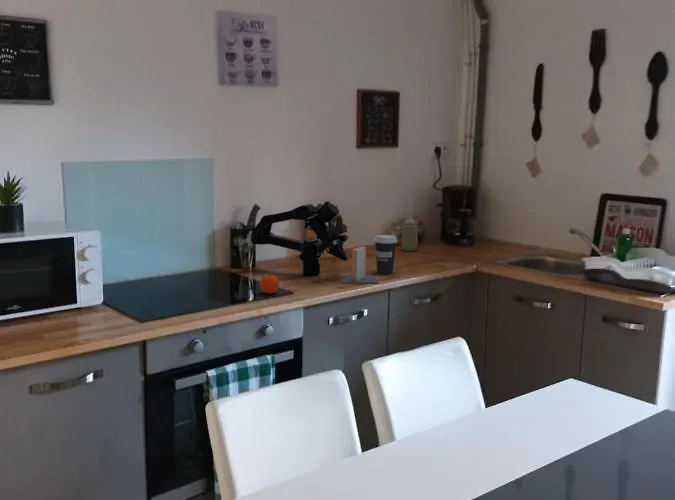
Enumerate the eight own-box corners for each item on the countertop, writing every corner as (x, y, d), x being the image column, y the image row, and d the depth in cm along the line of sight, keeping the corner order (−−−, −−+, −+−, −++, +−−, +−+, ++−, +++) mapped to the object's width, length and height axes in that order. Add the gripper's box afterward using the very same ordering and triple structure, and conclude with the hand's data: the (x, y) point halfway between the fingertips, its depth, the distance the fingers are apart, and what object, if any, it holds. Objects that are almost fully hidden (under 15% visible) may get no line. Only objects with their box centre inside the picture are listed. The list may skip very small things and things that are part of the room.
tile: (351, 280, 272) (352, 250, 270) (359, 276, 279) (359, 246, 277) (357, 281, 271) (358, 250, 269) (365, 276, 278) (365, 247, 276)
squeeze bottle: (398, 249, 341) (399, 212, 338) (413, 248, 344) (414, 211, 340) (404, 252, 334) (405, 214, 330) (420, 251, 336) (421, 214, 333)
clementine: (254, 292, 253) (254, 273, 252) (269, 289, 258) (269, 270, 257) (268, 296, 248) (268, 277, 246) (283, 293, 252) (283, 274, 251)
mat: (341, 283, 268) (341, 282, 268) (338, 276, 280) (338, 275, 280) (378, 283, 270) (378, 282, 270) (373, 276, 281) (373, 275, 281)
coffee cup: (369, 270, 293) (370, 235, 290) (390, 269, 296) (391, 234, 293) (378, 275, 284) (379, 238, 281) (400, 273, 287) (401, 237, 284)
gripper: (324, 220, 267) (350, 251, 264) (344, 214, 283) (369, 243, 281) (306, 238, 271) (331, 269, 269) (326, 231, 288) (350, 260, 286)
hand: (346, 260), depth 276 cm, fingers closed
